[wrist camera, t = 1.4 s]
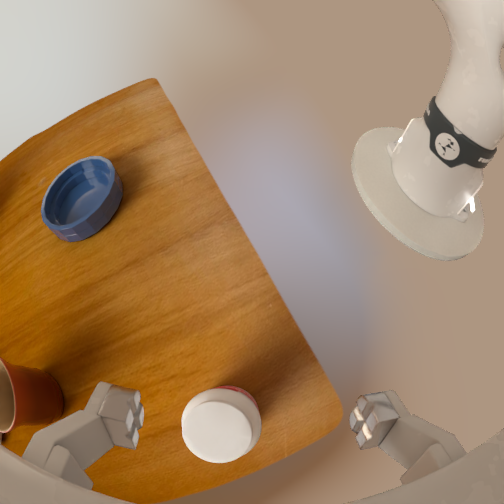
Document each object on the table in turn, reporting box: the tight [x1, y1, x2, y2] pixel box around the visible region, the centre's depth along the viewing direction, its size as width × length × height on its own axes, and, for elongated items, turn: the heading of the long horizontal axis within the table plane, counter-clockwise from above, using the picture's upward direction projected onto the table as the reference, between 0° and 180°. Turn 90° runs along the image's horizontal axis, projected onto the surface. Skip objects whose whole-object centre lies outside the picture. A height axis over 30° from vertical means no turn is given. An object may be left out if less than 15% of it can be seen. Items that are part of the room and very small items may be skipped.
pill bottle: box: [182, 386, 261, 463], centre depth 20 cm, size 6×6×11 cm
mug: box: [0, 357, 64, 433], centre depth 18 cm, size 12×9×10 cm
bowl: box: [41, 156, 123, 242], centre depth 34 cm, size 13×14×4 cm
